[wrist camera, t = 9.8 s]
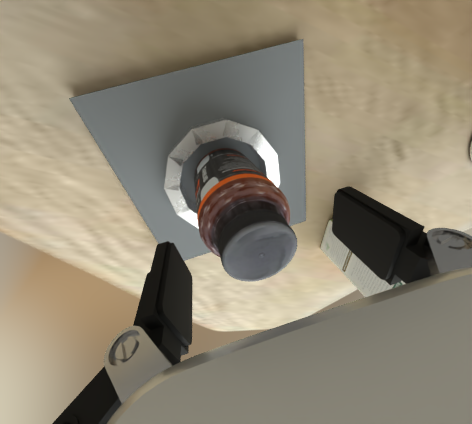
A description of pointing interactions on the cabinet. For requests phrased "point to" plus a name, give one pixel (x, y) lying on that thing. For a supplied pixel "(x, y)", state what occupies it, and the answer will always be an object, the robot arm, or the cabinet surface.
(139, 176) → the rubber mat
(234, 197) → the supplement bottle
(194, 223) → the ring collar
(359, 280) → the syrup box
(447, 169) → the cabinet surface
